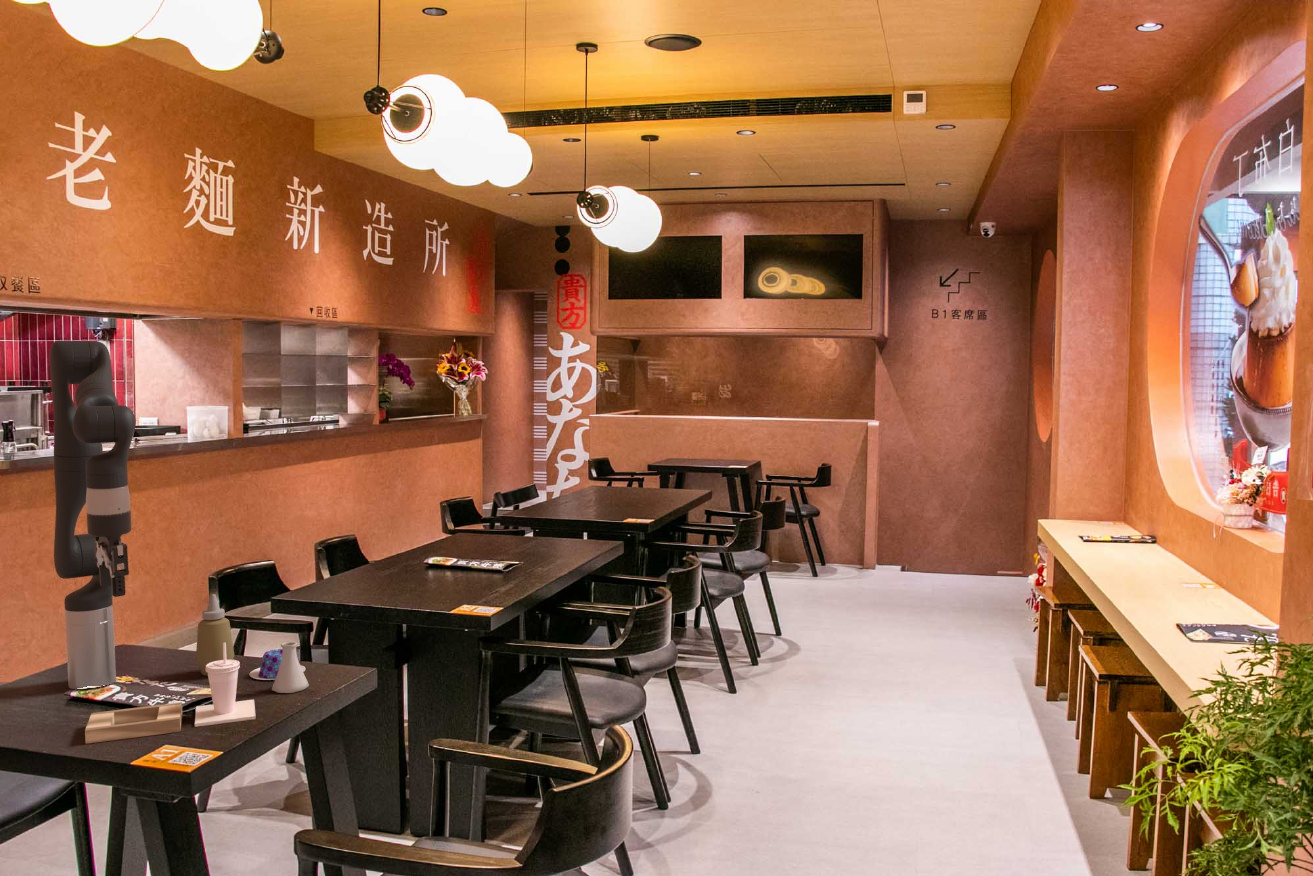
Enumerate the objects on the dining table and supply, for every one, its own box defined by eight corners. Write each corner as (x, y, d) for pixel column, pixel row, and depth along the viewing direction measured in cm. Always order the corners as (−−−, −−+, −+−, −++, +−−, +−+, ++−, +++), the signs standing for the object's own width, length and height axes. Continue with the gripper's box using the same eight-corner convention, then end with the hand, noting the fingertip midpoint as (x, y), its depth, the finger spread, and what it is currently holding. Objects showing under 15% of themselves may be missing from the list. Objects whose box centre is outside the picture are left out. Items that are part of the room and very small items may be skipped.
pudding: (301, 681, 231) (301, 657, 231) (244, 684, 229) (244, 661, 228) (308, 665, 243) (307, 643, 242) (254, 668, 240) (253, 646, 240)
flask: (265, 692, 222) (263, 646, 222) (289, 682, 229) (287, 637, 228) (292, 696, 220) (290, 649, 219) (315, 686, 226) (314, 641, 226)
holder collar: (92, 725, 202) (91, 713, 202) (182, 714, 208) (181, 702, 208) (85, 743, 193) (84, 730, 192) (180, 731, 199) (179, 718, 199)
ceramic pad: (196, 709, 211) (196, 706, 211) (254, 702, 216) (254, 699, 216) (194, 726, 201) (194, 723, 201) (255, 719, 205) (255, 716, 205)
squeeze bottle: (225, 678, 232) (222, 599, 231) (189, 678, 232) (186, 599, 231) (240, 667, 240) (238, 590, 239) (206, 667, 240) (203, 590, 239)
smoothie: (229, 717, 205) (226, 648, 203) (200, 715, 206) (197, 646, 205) (248, 706, 211) (245, 639, 210) (220, 704, 212) (217, 637, 211)
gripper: (140, 513, 197) (144, 596, 199) (119, 500, 207) (123, 579, 210) (97, 518, 192) (101, 603, 194) (77, 505, 202) (81, 585, 205)
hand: (112, 590), depth 202 cm, fingers open, 8 cm apart
